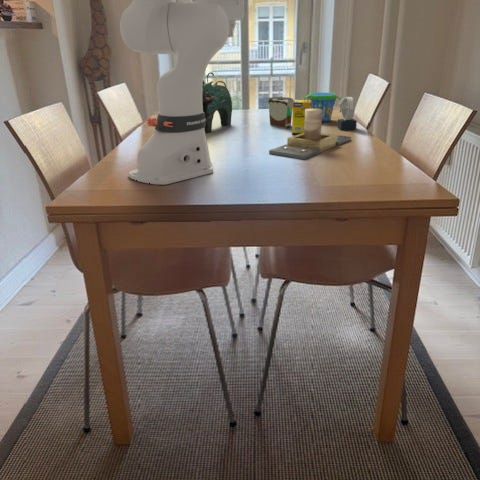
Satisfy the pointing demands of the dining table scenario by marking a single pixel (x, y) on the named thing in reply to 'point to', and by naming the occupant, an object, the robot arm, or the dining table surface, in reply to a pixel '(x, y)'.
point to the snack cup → (323, 103)
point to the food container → (280, 111)
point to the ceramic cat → (216, 103)
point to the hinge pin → (313, 124)
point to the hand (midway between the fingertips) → (219, 37)
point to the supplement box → (299, 115)
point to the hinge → (308, 145)
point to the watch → (347, 114)
